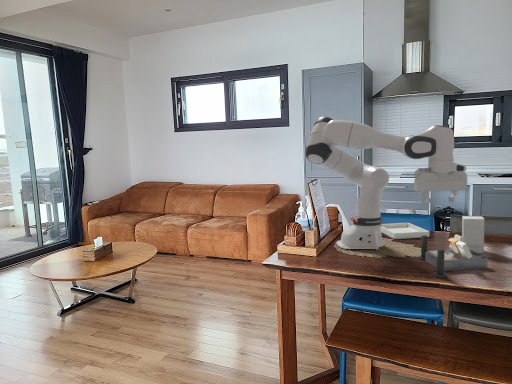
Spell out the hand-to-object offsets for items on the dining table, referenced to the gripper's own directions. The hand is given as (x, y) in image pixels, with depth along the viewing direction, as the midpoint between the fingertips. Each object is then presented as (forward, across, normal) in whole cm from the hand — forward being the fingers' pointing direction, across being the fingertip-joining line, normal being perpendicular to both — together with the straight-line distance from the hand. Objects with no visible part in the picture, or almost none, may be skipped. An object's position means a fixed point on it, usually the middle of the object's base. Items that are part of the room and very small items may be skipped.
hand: (439, 202), depth 145 cm
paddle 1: (+22, +9, +4) cm, 24 cm away
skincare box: (+26, +24, +15) cm, 39 cm away
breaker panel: (+26, +7, -1) cm, 27 cm away
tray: (+26, +10, +52) cm, 59 cm away
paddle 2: (+22, +9, -6) cm, 24 cm away
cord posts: (+26, -4, -2) cm, 26 cm away
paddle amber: (+22, +9, 0) cm, 23 cm away
